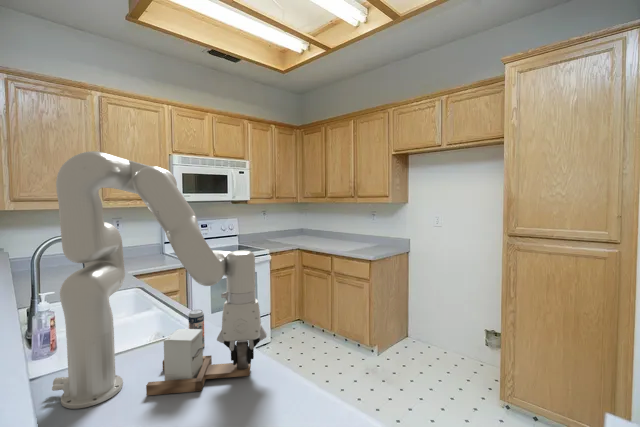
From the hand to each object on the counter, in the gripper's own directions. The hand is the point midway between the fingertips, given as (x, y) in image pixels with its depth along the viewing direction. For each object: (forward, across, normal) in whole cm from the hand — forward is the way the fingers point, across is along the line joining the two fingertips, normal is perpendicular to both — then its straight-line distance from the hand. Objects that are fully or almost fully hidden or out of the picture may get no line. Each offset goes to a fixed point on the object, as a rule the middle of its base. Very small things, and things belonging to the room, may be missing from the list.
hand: (242, 361), depth 87 cm
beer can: (+4, -16, +18) cm, 25 cm away
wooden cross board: (+3, -10, 0) cm, 11 cm away
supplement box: (+4, -15, -1) cm, 16 cm away
